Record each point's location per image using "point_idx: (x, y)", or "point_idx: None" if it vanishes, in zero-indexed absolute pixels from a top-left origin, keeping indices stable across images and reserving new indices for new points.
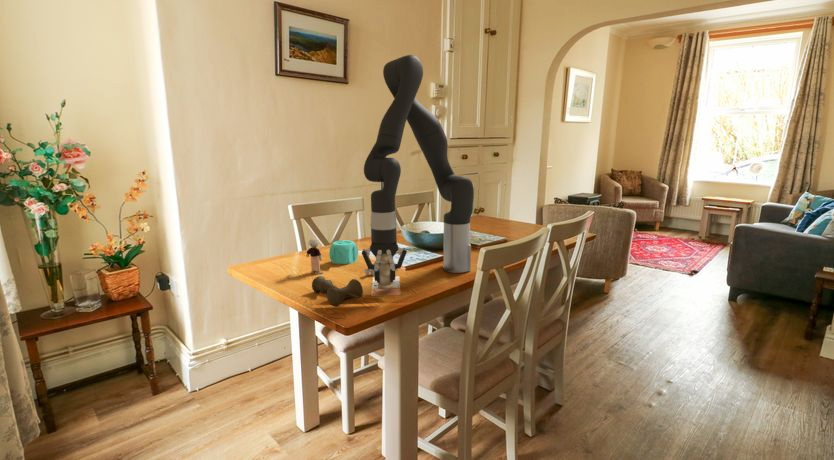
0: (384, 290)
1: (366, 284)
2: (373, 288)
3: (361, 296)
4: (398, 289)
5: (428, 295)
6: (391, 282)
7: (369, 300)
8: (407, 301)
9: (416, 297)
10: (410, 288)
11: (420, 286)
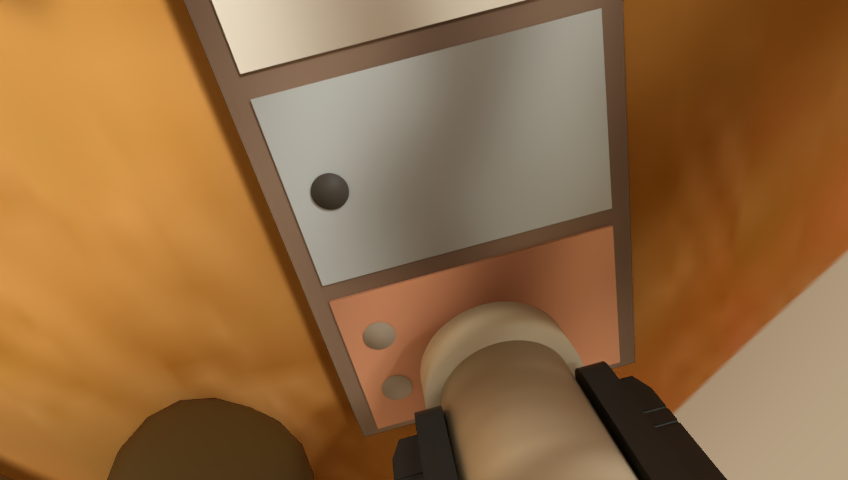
0: (466, 305)
1: (158, 62)
2: (338, 276)
3: (303, 455)
4: (597, 256)
5: (827, 261)
6: (572, 356)
7: (376, 437)
8: (656, 393)
9: (728, 316)
10: (698, 118)
11: (810, 36)
